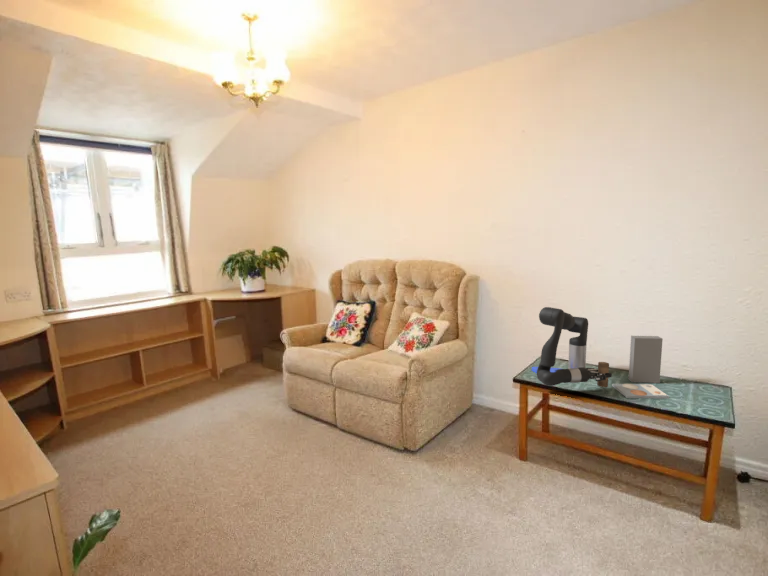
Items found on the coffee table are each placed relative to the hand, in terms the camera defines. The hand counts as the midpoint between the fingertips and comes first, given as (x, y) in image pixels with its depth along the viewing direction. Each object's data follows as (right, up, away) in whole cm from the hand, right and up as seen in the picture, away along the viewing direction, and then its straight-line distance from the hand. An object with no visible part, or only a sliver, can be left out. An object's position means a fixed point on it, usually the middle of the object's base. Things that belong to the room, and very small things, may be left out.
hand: (607, 373), depth 216 cm
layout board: (+15, -9, -2) cm, 18 cm away
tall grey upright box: (+27, -7, +13) cm, 31 cm away
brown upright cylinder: (-2, -7, +1) cm, 7 cm away
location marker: (-18, -7, +26) cm, 33 cm away
